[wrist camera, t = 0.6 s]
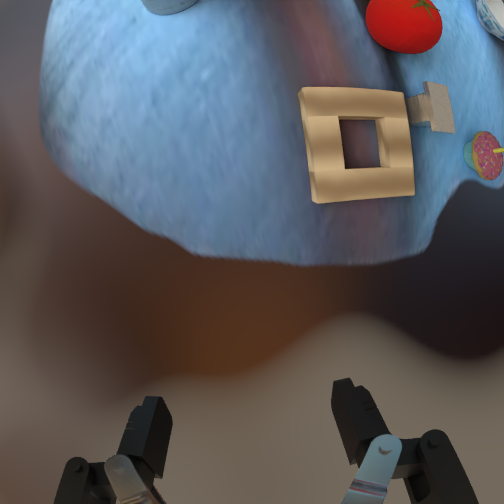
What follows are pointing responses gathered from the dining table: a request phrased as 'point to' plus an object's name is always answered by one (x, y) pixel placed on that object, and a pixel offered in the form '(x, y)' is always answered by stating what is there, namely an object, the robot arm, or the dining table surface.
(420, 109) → the grey stepped wood block
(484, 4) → the chinaware
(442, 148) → the dining table surface
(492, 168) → the cupcake
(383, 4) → the tomato
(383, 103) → the well block
